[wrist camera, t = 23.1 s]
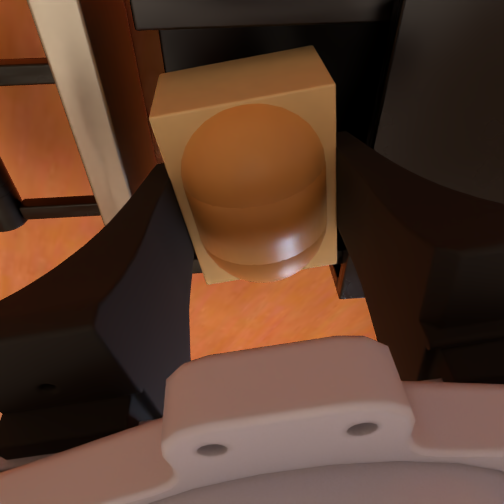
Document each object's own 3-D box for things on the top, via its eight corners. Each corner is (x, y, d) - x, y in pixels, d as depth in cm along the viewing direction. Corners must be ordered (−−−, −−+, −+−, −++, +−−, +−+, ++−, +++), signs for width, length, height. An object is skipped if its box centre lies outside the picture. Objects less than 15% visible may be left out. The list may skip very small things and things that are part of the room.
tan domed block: (313, 44, 11) (352, 110, 8) (320, 211, 15) (348, 297, 12) (158, 73, 11) (140, 149, 8) (207, 231, 16) (206, 319, 12)
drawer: (39, 214, 20) (-1, 297, 16) (-91, -57, 12) (-223, -23, 9) (387, 195, 20) (427, 269, 17) (459, -71, 13) (559, -45, 9)
